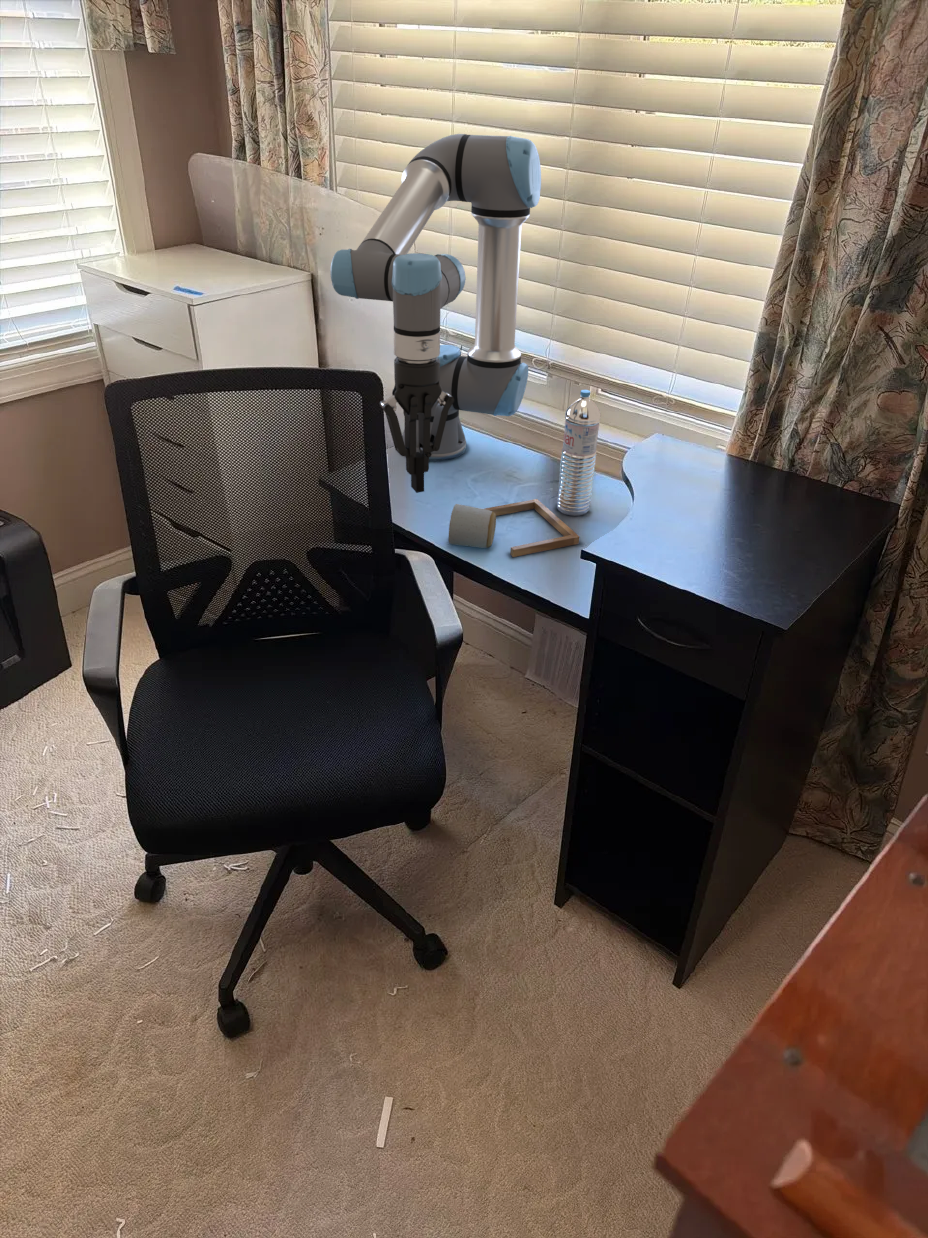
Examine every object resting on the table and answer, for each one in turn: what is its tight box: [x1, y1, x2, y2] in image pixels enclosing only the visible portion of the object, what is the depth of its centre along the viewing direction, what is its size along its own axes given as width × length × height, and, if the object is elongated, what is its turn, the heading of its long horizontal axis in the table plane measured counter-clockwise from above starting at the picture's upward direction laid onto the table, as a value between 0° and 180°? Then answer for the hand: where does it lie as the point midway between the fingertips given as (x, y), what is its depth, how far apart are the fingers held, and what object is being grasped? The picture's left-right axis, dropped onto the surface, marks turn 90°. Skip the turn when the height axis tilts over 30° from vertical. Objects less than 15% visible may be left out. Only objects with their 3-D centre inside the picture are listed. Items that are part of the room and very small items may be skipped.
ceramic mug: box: [448, 503, 497, 549], centre depth 162 cm, size 11×8×8 cm
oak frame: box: [483, 498, 580, 558], centre depth 167 cm, size 17×14×2 cm
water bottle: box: [556, 389, 602, 517], centre depth 169 cm, size 7×7×25 cm
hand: (417, 488), depth 152 cm, fingers closed
